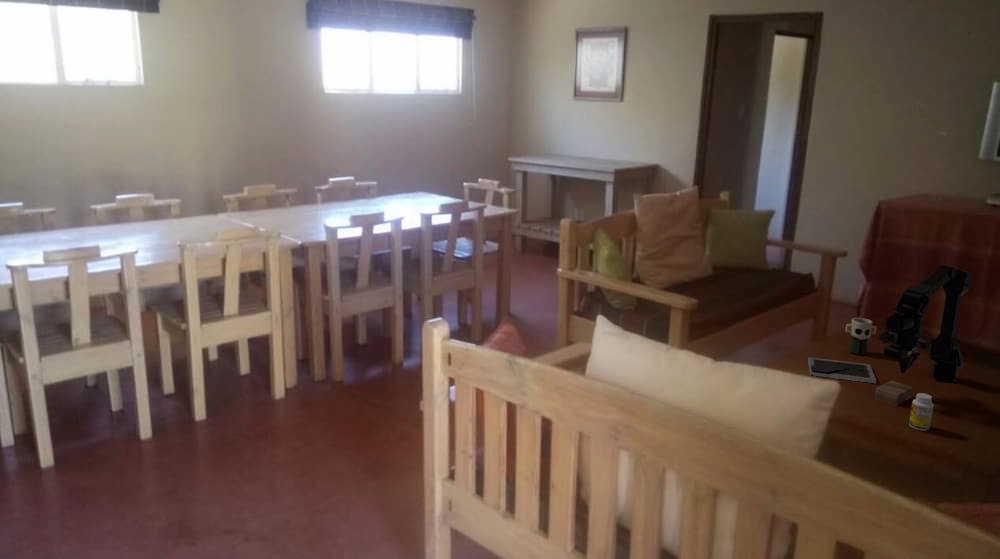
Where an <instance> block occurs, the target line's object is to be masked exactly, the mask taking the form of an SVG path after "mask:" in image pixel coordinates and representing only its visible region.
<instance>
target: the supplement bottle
mask: <svg viewBox="0 0 1000 559" xmlns="http://www.w3.org/2000/svg"><path fill="white" fill-rule="evenodd" d="M932 398H933V397H932V395H930V394H928V393H922V392H920V393H919V392H918V393H917V394H916V397H915V399H913V400H912V402H911V408H910V414H909V421H908V425H909V426H910V427H911V428H912V429H914V430H917V431H928V430H930V428H931V423H932V417H933V413H934V406H935V403H933V402H932Z"/></svg>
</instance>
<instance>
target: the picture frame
mask: <svg viewBox="0 0 1000 559" xmlns="http://www.w3.org/2000/svg"><path fill="white" fill-rule="evenodd" d="M807 363H808V364H807V365H808V369H809V373H810V376H811V375H814V376H813V377H815V378H820V377H819V376H823V377H830V378H829V379H831V378H834V379H833V380H838V379H846V380H851V381H850V382H854V381H860V382H859V383H862V382H868V383H867V384H870V383H874V384H873V385H876V384H877V379H876V377H875V374H874V371H873V368H872V367H871V364H869V363H862V362H861V363H860V362H852V361H845V360H834V359H826V358H818V357H811V356H808V358H807ZM816 376H818V377H816ZM823 377H822V378H823ZM846 380H845V381H846Z"/></svg>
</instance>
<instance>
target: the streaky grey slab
mask: <svg viewBox="0 0 1000 559" xmlns="http://www.w3.org/2000/svg"><path fill="white" fill-rule="evenodd" d="M913 392H914V387H913V386H911V385H908V384H904V383H901V382H898V381H896V380H890V381H887V382H885V383H883V384H881V385H880V386H877V387H875V391H874V397H873V398H875V400H877V399H878V400H877V401H880V400H882V401H881V402H883V401H885V402H884V403H886V402H888V403H887V404H889V403H891V404H890V405H892V404H894V405H893V406H895V405H896V406H898V405H901V404H902V403H904V402H906V401H908V400H910V399H911V398H912V397H913ZM905 400H906V401H905ZM903 401H904V402H903ZM901 402H902V403H901Z"/></svg>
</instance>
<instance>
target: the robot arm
mask: <svg viewBox="0 0 1000 559" xmlns="http://www.w3.org/2000/svg"><path fill="white" fill-rule="evenodd" d="M973 281H974V275H972V274H971V272H970V271H967V270H964V269H963V270H962V269H959V268H957V267H955V266H953V265H948V264H939V265H938V266H937V268H936V270H934V271H933V272H931V274H929V276H927V277H926V278H925V279H924V280H923V281H922V282H921V283H919V284H916V285H915V284H914V285H911V286H909V287H908V288H906V289H905V290H904V291H903V292H902V293H901V295H900V296H899V298H898V301H897V302H896V304H895V306H894V308H893V309H894V310H895V311H894V312H893V315H890V316H888V317H887V319H886V320H885V326H886V328H887V331H880V334H879V336H878V340H879V341H880V342H881V343H882V344H883V345H884V344H889V343H893V344H891V345H888V346H885V347H883V349H882V355H884V356H887V357H890V358H893V359H896V360H898V364H899V369H900V373H901V374H906V373H907V372H908V370H909V369H911V367H912V365H913V364H914V362H916V361H917V359H918V358H919V357H920V356H921V354H922V353H921V352H918V350H917V349H921V348H923V350H924V351H925V352H929V351H930V352H929V355H930V360H931V361H934V363H932V364H931V370H930V373H929V374H930V376H931V377H932V378H933V380H935V381H936V382H943V383H944V382H946V383H948V382H949V383H957V379H956V374H957V368H958V367H959V368H960V367H961V366H962V365H963V363H964V357H963V354H962V353H961V343H960V342H959V341H960V340H958V339H959V338H958V336H957V331H958V325H959V321H960V315H961V314H960V313H961V307H962V302H963V297H964V295H965V294H967V292H968V291H969V290H970V289H971V285H972V284H973ZM941 288H942V290H943V291H944V293H945V299H944V300H945V301H944V306H943V312H942V318H941V324H940V330H939V334H938V335H937V336H936V338H934V339H932V341H931V342H930V341H929V340H927V339H923V338H920V337H921V336H923V334H924V332H923V331H921V330H922V323H923V318H924V315H925V314H927V311H926V310H927V308H928V307H930V304H931V303H932V297H933V295H934V294H935V293H937V292H938V291H939V290H940V289H941Z"/></svg>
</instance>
